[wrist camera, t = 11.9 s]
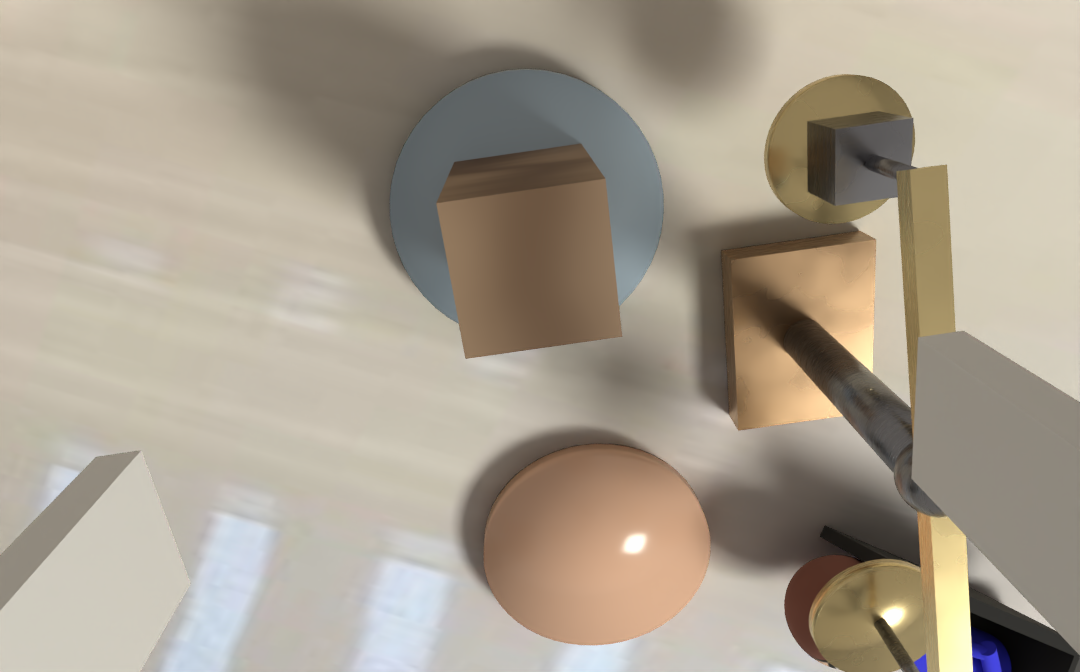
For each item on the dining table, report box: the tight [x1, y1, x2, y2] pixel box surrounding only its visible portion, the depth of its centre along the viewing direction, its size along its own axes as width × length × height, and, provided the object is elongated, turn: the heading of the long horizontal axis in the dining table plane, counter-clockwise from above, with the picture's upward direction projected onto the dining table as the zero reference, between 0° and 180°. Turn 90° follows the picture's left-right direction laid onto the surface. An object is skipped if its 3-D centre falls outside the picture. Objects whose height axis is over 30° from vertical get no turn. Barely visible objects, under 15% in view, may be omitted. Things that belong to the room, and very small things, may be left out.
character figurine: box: [784, 526, 1080, 672], centre depth 36 cm, size 8×7×15 cm
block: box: [436, 144, 622, 359], centre depth 27 cm, size 5×5×8 cm
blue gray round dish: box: [390, 68, 664, 324], centre depth 31 cm, size 11×11×1 cm
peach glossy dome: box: [483, 444, 711, 645], centre depth 37 cm, size 11×11×1 cm
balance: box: [721, 74, 973, 672], centre depth 27 cm, size 6×22×15 cm, turn 8°
